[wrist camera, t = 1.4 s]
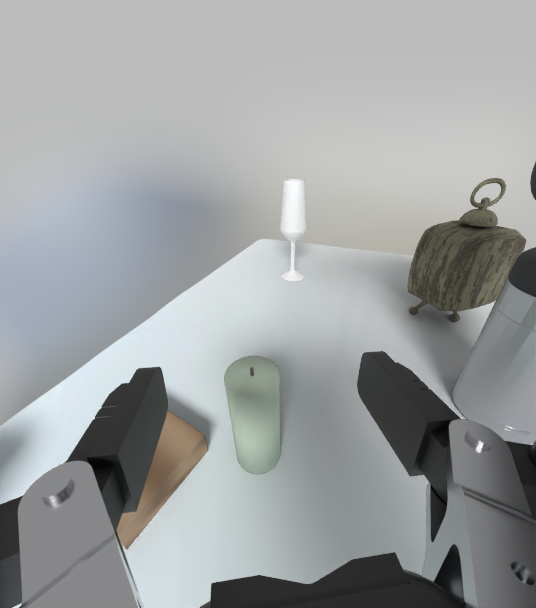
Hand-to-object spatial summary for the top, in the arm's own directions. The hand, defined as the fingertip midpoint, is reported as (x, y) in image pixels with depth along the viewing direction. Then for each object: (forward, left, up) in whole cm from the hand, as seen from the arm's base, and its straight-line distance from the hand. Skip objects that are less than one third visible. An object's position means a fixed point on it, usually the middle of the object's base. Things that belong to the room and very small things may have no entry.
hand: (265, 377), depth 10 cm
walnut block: (+1, -16, -21) cm, 27 cm away
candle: (-7, -6, -21) cm, 23 cm away
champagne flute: (-52, -25, -22) cm, 62 cm away
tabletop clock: (-49, +11, -22) cm, 55 cm away
